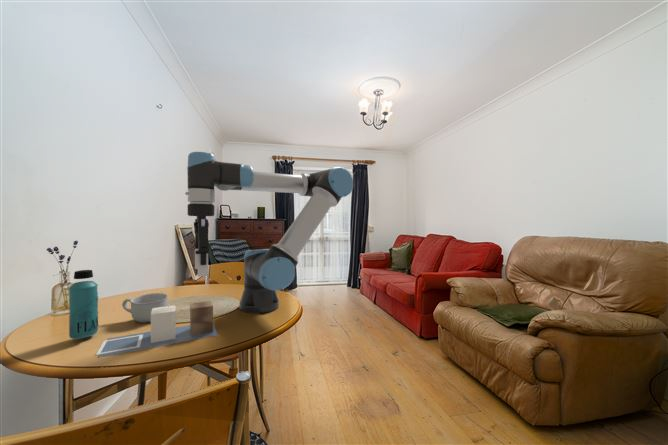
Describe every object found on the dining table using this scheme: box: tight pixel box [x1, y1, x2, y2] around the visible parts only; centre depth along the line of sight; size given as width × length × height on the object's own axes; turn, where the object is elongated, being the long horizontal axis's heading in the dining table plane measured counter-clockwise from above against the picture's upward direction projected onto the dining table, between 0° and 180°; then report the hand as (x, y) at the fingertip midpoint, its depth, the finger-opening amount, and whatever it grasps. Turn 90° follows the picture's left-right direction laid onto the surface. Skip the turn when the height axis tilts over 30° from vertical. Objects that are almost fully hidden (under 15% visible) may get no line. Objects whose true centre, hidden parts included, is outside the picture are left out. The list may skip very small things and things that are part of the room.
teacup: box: [122, 292, 169, 324], centre depth 96 cm, size 14×11×8 cm
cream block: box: [150, 305, 177, 343], centre depth 82 cm, size 6×6×8 cm
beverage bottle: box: [68, 269, 99, 340], centre depth 81 cm, size 6×7×20 cm
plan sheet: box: [95, 322, 219, 359], centre depth 82 cm, size 29×13×1 cm, turn 120°
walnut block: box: [189, 300, 214, 336], centre depth 87 cm, size 6×6×8 cm
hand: (201, 272), depth 87 cm, fingers open, 13 cm apart
